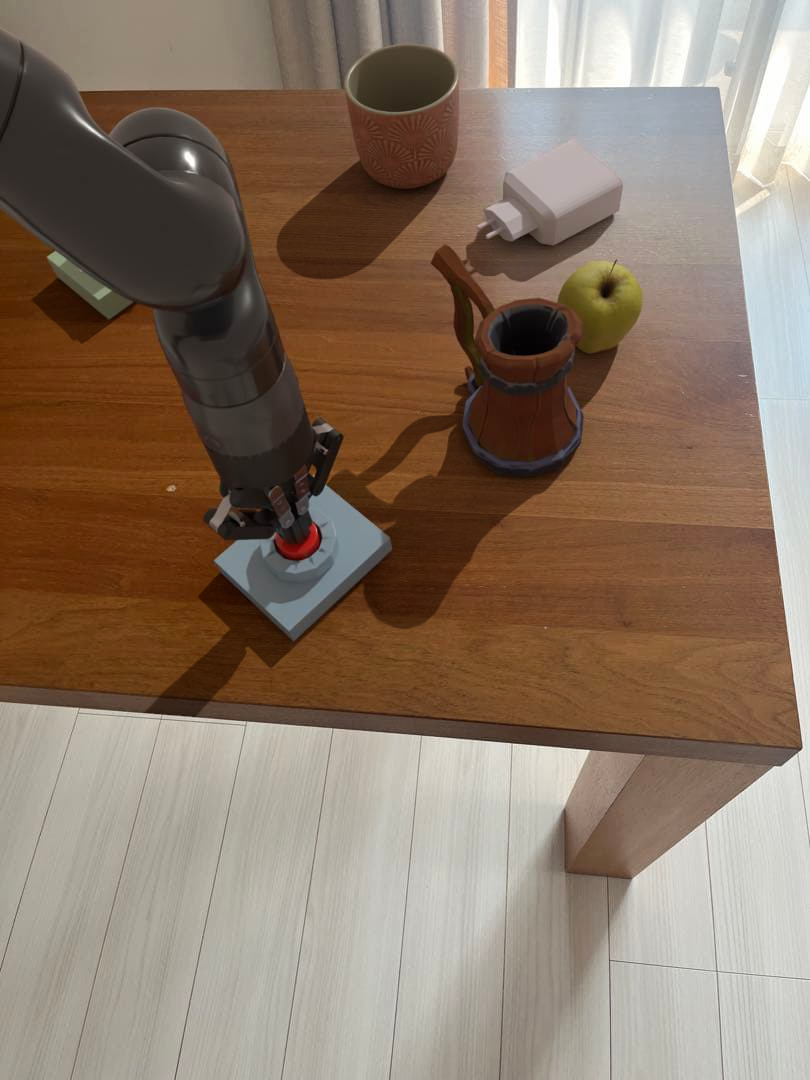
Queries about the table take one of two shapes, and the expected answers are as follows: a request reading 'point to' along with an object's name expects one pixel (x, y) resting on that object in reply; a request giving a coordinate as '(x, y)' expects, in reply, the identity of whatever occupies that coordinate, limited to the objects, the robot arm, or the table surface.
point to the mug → (515, 376)
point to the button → (299, 546)
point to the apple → (602, 303)
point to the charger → (555, 196)
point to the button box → (307, 565)
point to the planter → (404, 113)
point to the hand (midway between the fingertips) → (296, 533)
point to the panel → (88, 287)
